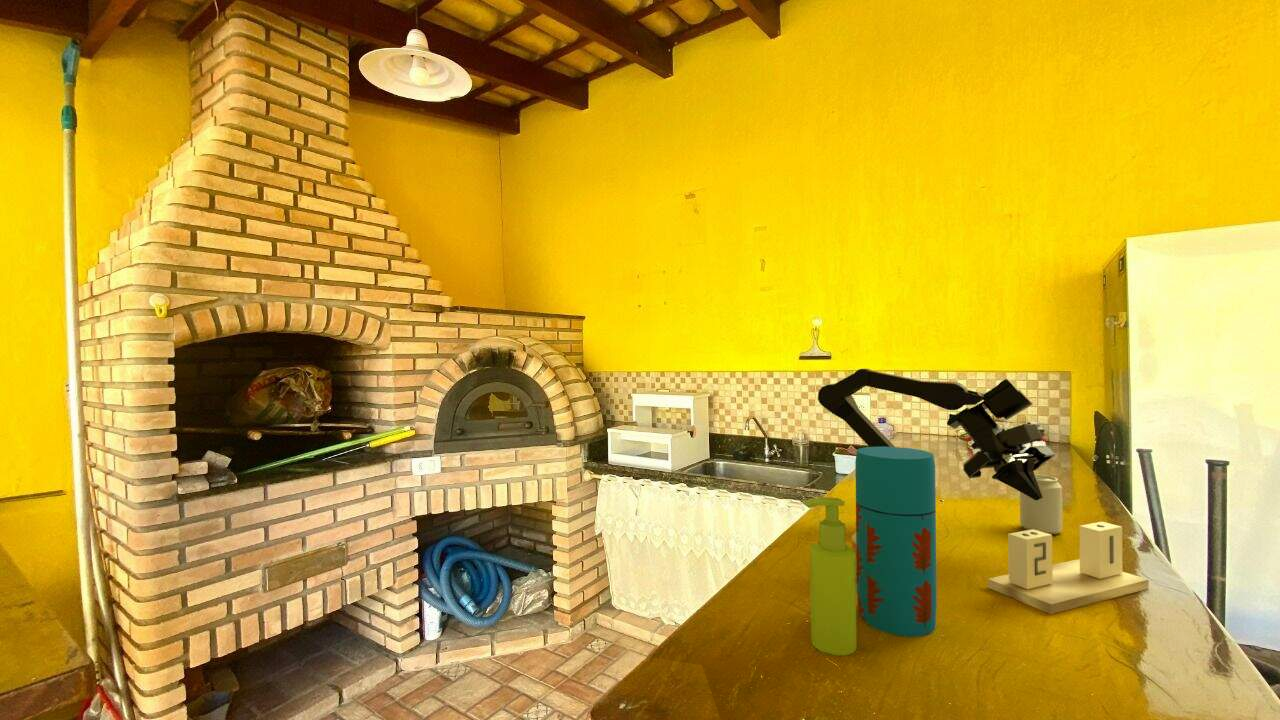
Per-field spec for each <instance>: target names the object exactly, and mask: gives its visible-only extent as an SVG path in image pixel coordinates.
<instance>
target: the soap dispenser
mask: <svg viewBox="0 0 1280 720" xmlns="http://www.w3.org/2000/svg"><path fill="white" fill-rule="evenodd" d="M801 504H803V505H804V506H805V507H807V508H808V509H811V508H815V507H821V506H822V507H823V506H825V509H824V510H825V518H824V519H823V520H821V521H819V523H818V525H819V526H818V529H819V530H818V535H819V536H818V537H819V540H818V541H819V542H815V543H812V544H811V545H810V546H809V562H810V563H809V567H810V571H809V572H810V573H809V574H810V575H809V576H810V581H809V582H810V583H809V584H810V641H811V644H812V646H813V647H814V648H816V649H817V650H819V651H820V652H822V653H825V654H827V653H828V655H832V656H849V655H852V654H854V653H855V652H856V650H857V578H856V556H855V550H854V549H853V548H852V546H849V545H847V544H846V523H844V522H843V521H841V520H840V519H839V517H840V515H839V507H845V501H844V500H843V499H841V498H839V497H825V496H823V497H821V496H820V497H813V498H809V499H805V500H802V501H801Z"/></svg>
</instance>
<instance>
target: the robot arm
mask: <svg viewBox="0 0 1280 720" xmlns="http://www.w3.org/2000/svg"><path fill="white" fill-rule="evenodd" d="M865 387H870V388H873V389H874V388H875V389H879V390H884V391H886V392H887V391H888V392H893V393H897V394H900V395H905V396H910V397H915V398H918V399H920V400H922V401H925V402H928V403H930V404H931V405H934V406H937V407H939V408H942V409H945V410H947V411H957V410H959V409H961V408H963V407H964V406H971V405H972V407H971V408H969V407H965V408H963V410H961V411H959V412H958V413H956V414H952V413H949V414H948V419H947V422H946V425H947V426H949V428H952V429H954V430H955V429H957V428H958V427H960V426H961V428H962V429H963V431H964V432H965V433H966V435H968V437H969V438H970V439H971V441H972V442H973V443H972V444H970V447H971V448H972V449H973V450H978V451H976V453H974V454H973V455H972V456H971V457H970V458H969V459H967V460H966V461H965V462H964V463H963V472H964V473H965V475H966V476H967V478H968V479H977V478H980V477H981V476H982V471H981V470H982V469H990V468H993V469H994V470H993V471H994V474H993V475H992V476H991V478H992V480H997V481H998V482H1001V483H1003V484H1004V485H1006V486H1009V487H1011V488H1013V489H1014V490H1016V491H1018V492H1019V493H1020V492H1021V493H1023V494H1025V495H1027V496H1029V497H1030V498H1032V499H1034V500H1036V501H1037V500H1040V499H1042V498H1043V497H1042V494H1041V491H1040V489H1039V486H1038V484H1037V481H1036V478H1035V475H1036V474H1035V472H1034V471H1036V470H1038V469H1040V468H1041V467H1042V466H1043V465H1044V464H1046V463H1047V462H1049V461H1050V460H1051V459H1053V458H1054V457H1055V456H1056V453H1055V452H1054V451H1053V450H1052V449H1051V448H1050V447H1049V446H1046V445H1035V446H1029V447H1028V448H1027V444H1030V443H1033V442H1041V441H1043V440H1044V438H1043V437H1044V435H1045V429H1044V428H1043V427H1042V426H1041V425H1040V424H1039V423H1038V422H1036V421H1028V422H1027V423H1022V424H1020V425H1017V426H1014V427H1011V428H1008V427H1000V425H999V424H998V423H997V422H996V421H995V420H994V418H992V416H991V415H990V414H989V413H988V411H989V412H990V413H991V414H992V415H993V416H994V417H995V418H996V419H997V420H999V419H1002V418H1004V420H1006V421H1008V420H1009V419H1011V418H1013V417H1015V416H1016V415H1019V413H1021V412H1022V411H1024V410H1026V409H1028V408H1029V407H1031V406H1033V405H1034V403H1032V401H1031V400H1030V398H1028V396H1026V394H1025V393H1024V392H1023V391H1022V390H1021V389H1018V388H1017V387H1016V386H1015V385H1014V384H1013V383H1012V382H1011V381H1010V380H1009V379H1008V378H1005V379H1003V380H1001V381H1000V382H999V383H998V384H997V385H996V386H994V387H993V388H991V389H989V390H987V391H986V392H985V393H983V392H980V391H973V390H970V389H968V388H967V387H966V385H964V384H962V383H960V382H958V381H957V382H956V381H934V380H931V381H930V380H920V379H916V378H910V377H905V376H901V375H896V374H895V375H894V374H891V373H887V372H886V373H885V372H881V371H876V370H872V369H869V368H860V369H857V370H856V371H854V373H852V374H850V375H848V376H846V377H845V378H843V379H841V380H839V381H837V382H836V383H831V384H830V383H829V384H826V385H823V386H822V387H820V389H819V390H818V393H817V401H818V402H819V403H820V406H822V407H823V408H825V410H827V411H829V412H830V413H831V414H832V415H834V416H835V417H838V418H840V419H841V420H842V421H844V422H845V423H846V424H847V425H848V426H849V427H850V428H851V429H852V430H853V431H854V432H855V433H856V435H858V437H859V438H860V439H861V440H862V441H863V442H864V443H865V444H866V445H867V446H868V447H896V446H895V445H894V444H893V443H892V442H891V441H890V440H889V439H888V438H887V437H886V436H885V434H883V432H882V431H880V429H878V427H876V425H875V424H874V423H873V422H872V421H871V420H870V419H869V418H868V417H867V416H866V414H864V413H863V412H862V411H861V410H860V409H859V405H858V404H857V402H856V400H855V398H854V397H853V395H854V394H856V393H857V392H859V391H860V390H861V389H863V388H865ZM987 410H988V411H987ZM1025 449H1026V450H1025ZM1021 451H1023V452H1021ZM1020 452H1021V453H1020Z"/></svg>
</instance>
